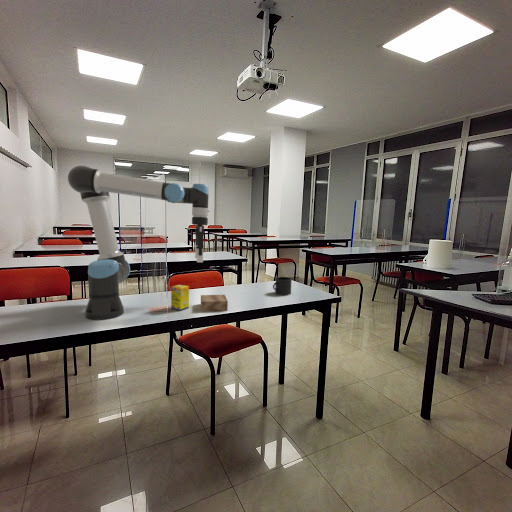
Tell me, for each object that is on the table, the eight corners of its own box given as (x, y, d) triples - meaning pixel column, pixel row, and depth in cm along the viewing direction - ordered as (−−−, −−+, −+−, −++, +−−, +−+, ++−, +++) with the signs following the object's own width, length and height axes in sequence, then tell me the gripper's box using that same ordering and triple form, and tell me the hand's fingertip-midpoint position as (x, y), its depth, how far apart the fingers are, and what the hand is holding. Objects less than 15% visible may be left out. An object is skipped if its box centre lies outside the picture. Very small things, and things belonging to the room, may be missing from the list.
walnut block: (201, 312, 140) (201, 301, 139) (200, 304, 151) (200, 295, 151) (227, 311, 143) (227, 301, 142) (224, 304, 154) (224, 294, 153)
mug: (268, 292, 179) (269, 277, 178) (284, 290, 185) (285, 276, 184) (277, 296, 171) (277, 281, 170) (294, 294, 177) (294, 279, 176)
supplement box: (170, 309, 142) (170, 286, 141) (179, 306, 147) (179, 284, 146) (180, 311, 139) (180, 288, 138) (189, 308, 144) (189, 285, 143)
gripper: (210, 217, 134) (209, 264, 136) (205, 216, 158) (204, 256, 160) (193, 216, 132) (192, 264, 134) (190, 216, 156) (189, 256, 158)
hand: (198, 260), depth 147 cm, fingers open, 13 cm apart
